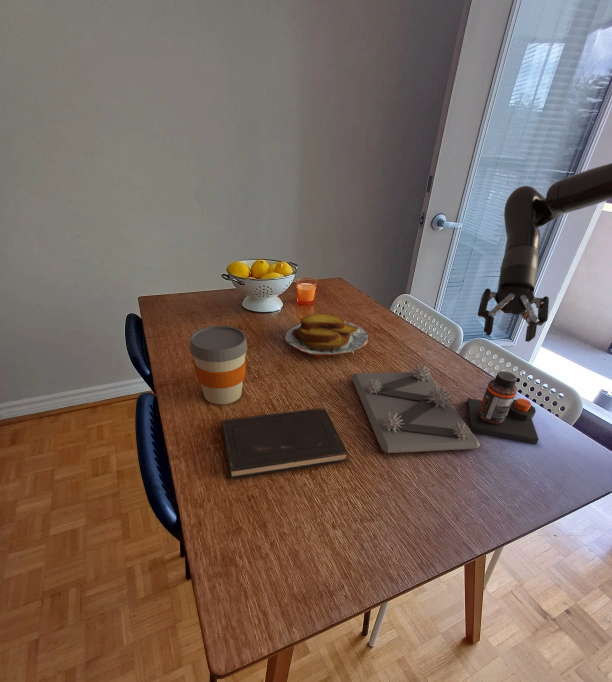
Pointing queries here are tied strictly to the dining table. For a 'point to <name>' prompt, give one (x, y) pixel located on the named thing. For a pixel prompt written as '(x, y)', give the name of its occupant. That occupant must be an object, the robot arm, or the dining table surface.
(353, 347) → the food on plate
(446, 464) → the dining table surface
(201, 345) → the reusable coffee cup
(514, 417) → the kitchen scale
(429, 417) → the grey spiked board
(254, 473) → the hardcover book
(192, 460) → the dining table surface
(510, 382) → the supplement bottle
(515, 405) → the button
